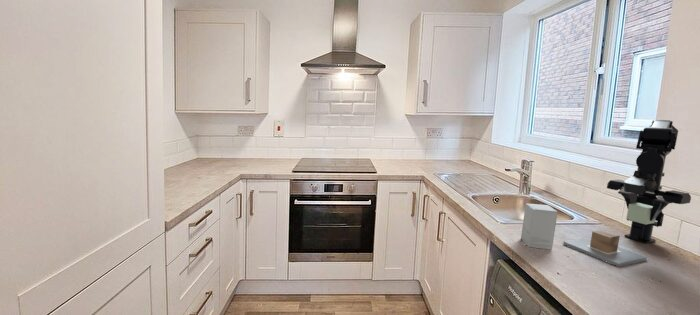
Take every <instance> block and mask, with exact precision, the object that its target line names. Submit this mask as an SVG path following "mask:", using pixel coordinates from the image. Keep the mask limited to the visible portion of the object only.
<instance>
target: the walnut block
mask: <svg viewBox="0 0 700 315" xmlns="http://www.w3.org/2000/svg"><path fill="white" fill-rule="evenodd" d="M590 237H591V243H590V247H593V248H595V249H598V250H601V251H603V252H606V253H610V252H615V251H617V249H618V247H619V243H620V235H619V234H615V233H613V232H611V231H607V230H603V229H599V230H593V231H592V232H591V236H590Z"/></svg>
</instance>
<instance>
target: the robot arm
mask: <svg viewBox="0 0 700 315" xmlns="http://www.w3.org/2000/svg"><path fill="white" fill-rule="evenodd" d="M673 122H674V121H672V120H668V119H667V120H666V119H654V120H652V122H651V125H649V126H645V127H644V128H643V129H640V131H639V135H638V140H637V143H636V147H635V149H636V150H641V152H640V154H639V155H638V156H637V158H635V159H636V161H635V164H636V166H637V170H634V172H633V176H630V177H628V178H627V179H625V180H622V179H611V180H609V181H608V182H607V183H606V185H607V186H606V189H609V190H613V191H617V194H620V195H621V196H622V197H623V198H624V202H625V204H626V207H627V208H626V209H628V207H629V204H632V203H641V204H646V205H650V206H653V208H652V211H651V215H650V221H653V220H654V219H655V223H652V224H646V225H645V224H642V223H638V222H635V221H631V220H628V219H626V221H630V222H631V225H630V228H629V229H630V231H629V233H627V234H623V235H624V237H625V238H629V239H632V240H635V241H637V242H640V243H644V244H649V243H652V242H653V243H654V242H656V241H657V239H655V238H652V236H653V230H654V227H657V228H659V227H662V226H663V223H664V222H663V221H664V217H665V214H664V213H663V209H665V208H666V207H667V206H668V205H669V204H677V205H685V204H690V203H691V200H692V199H691V198H692V197H691V194H690V193H688V192H684V191H679V190H665V191H663V190H662V187H663V186H662V184H661V183H662V177H665V172H664V168H665V164H666V158H667V157H666V156H668V155H669V154H670V153H671V152H672V150H675V149H676V144H677V141H678V140H677V139H678V136H679V135H678V134H679V130H678V129H677V127H675V126H674V125H673Z"/></svg>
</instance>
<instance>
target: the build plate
mask: <svg viewBox="0 0 700 315" xmlns="http://www.w3.org/2000/svg"><path fill="white" fill-rule="evenodd" d="M591 237H592V236H589V237H582V238H576V239H571V240H563V243H562V245H564V246H566V245H567V246H566V247H568V246H569V248H571V249H573V248H574V249H573V250H576V249H577V250H576V251H578V250H579V252H581V253H583V252H584V253H583V254H585V253H587V254H586V255H588V254H589V255H588V256H590V255H592V256H591V257H593V256H594V257H593V258H595V257H597V258H599V259H598V260H600V259H602V260H604V261H603V262H605V261H607V262H609V263H608V264H610V263H611V264H610V265H612V264H613V265H612V266H614V265H616V266H615V267H617V266H618V267H617V268H619V266H620V267H624V266H627V265H632V264H636V263H640V262H644V261H647V258H648V257H647V256H645V255H642V254H639V253H638V252H635V251H634V252H633V251H631V250H629V249H626V248H622V247H620V246H618V249H617V251H615V252H610V253H606V252H603V251H601V250H598V249H595V248H593V247H590V243H591ZM597 258H596V259H597ZM602 260H601V261H602ZM607 262H606V263H607ZM623 265H624V266H623Z"/></svg>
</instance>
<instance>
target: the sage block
mask: <svg viewBox="0 0 700 315" xmlns="http://www.w3.org/2000/svg"><path fill="white" fill-rule="evenodd" d="M652 208H653V206H650V205H646V204H641V203H632V204H629V207H628V208H627V214H626V220H627V219H628V220H631V221H630V222H632V221H635V222H638V223H642V224H645V225H646V224H652V223H655V222H656V221H655V219H654V220H653V221H650V215H651V211H652ZM628 220H627V221H628Z"/></svg>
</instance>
